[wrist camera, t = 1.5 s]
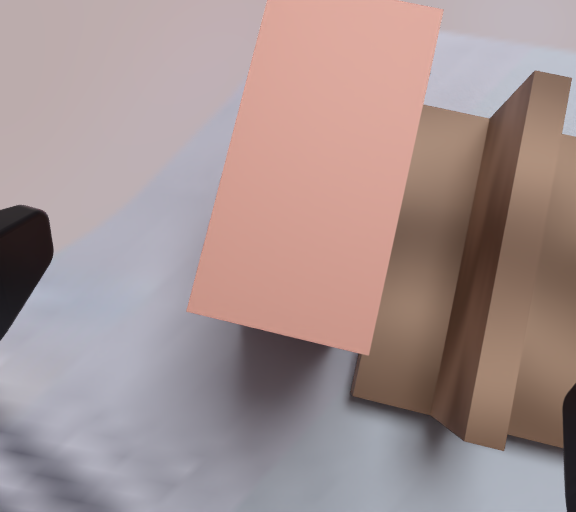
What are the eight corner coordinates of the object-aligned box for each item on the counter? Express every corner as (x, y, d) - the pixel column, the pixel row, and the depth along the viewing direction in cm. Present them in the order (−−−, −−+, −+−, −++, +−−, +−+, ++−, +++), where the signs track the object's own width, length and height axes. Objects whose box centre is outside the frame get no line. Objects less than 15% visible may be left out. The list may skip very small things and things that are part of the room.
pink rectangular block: (336, 337, 20) (368, 355, 11) (242, 314, 21) (186, 311, 11) (378, 152, 21) (443, 9, 11) (287, 132, 22) (273, -25, 12)
